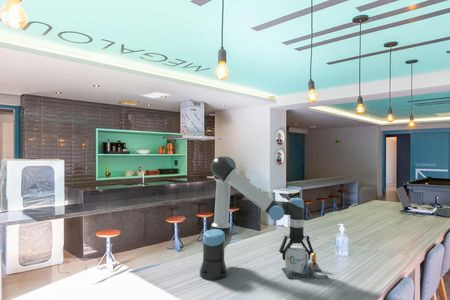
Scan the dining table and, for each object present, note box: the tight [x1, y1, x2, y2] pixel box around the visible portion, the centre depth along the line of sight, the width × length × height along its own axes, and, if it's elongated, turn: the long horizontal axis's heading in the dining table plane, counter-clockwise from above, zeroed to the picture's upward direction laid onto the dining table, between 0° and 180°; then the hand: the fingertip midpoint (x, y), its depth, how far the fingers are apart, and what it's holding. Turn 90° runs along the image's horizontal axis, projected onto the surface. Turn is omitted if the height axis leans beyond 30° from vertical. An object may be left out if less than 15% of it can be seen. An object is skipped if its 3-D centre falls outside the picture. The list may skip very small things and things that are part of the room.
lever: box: [308, 252, 319, 272], centre depth 178 cm, size 4×4×9 cm
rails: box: [314, 266, 329, 280], centre depth 172 cm, size 7×16×2 cm, turn 3°
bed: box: [281, 262, 315, 280], centre depth 171 cm, size 14×13×5 cm
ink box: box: [285, 244, 307, 273], centre depth 171 cm, size 8×8×12 cm
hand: (296, 265), depth 171 cm, fingers closed on ink box, 11 cm apart
